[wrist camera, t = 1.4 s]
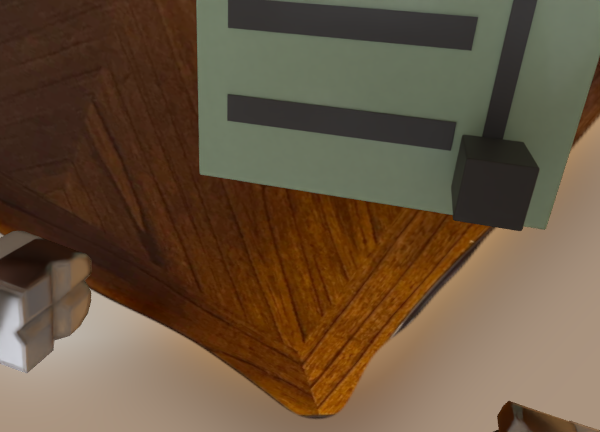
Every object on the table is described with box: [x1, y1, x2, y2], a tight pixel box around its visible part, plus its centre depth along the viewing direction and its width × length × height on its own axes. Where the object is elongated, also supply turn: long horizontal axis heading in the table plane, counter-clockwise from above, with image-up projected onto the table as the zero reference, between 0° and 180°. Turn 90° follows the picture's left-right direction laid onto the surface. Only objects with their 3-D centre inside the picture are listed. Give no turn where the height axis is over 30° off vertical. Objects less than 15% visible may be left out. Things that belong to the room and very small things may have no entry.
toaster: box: [196, 0, 600, 230], centre depth 27 cm, size 16×11×15 cm
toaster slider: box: [451, 135, 540, 231], centre depth 19 cm, size 2×2×4 cm
